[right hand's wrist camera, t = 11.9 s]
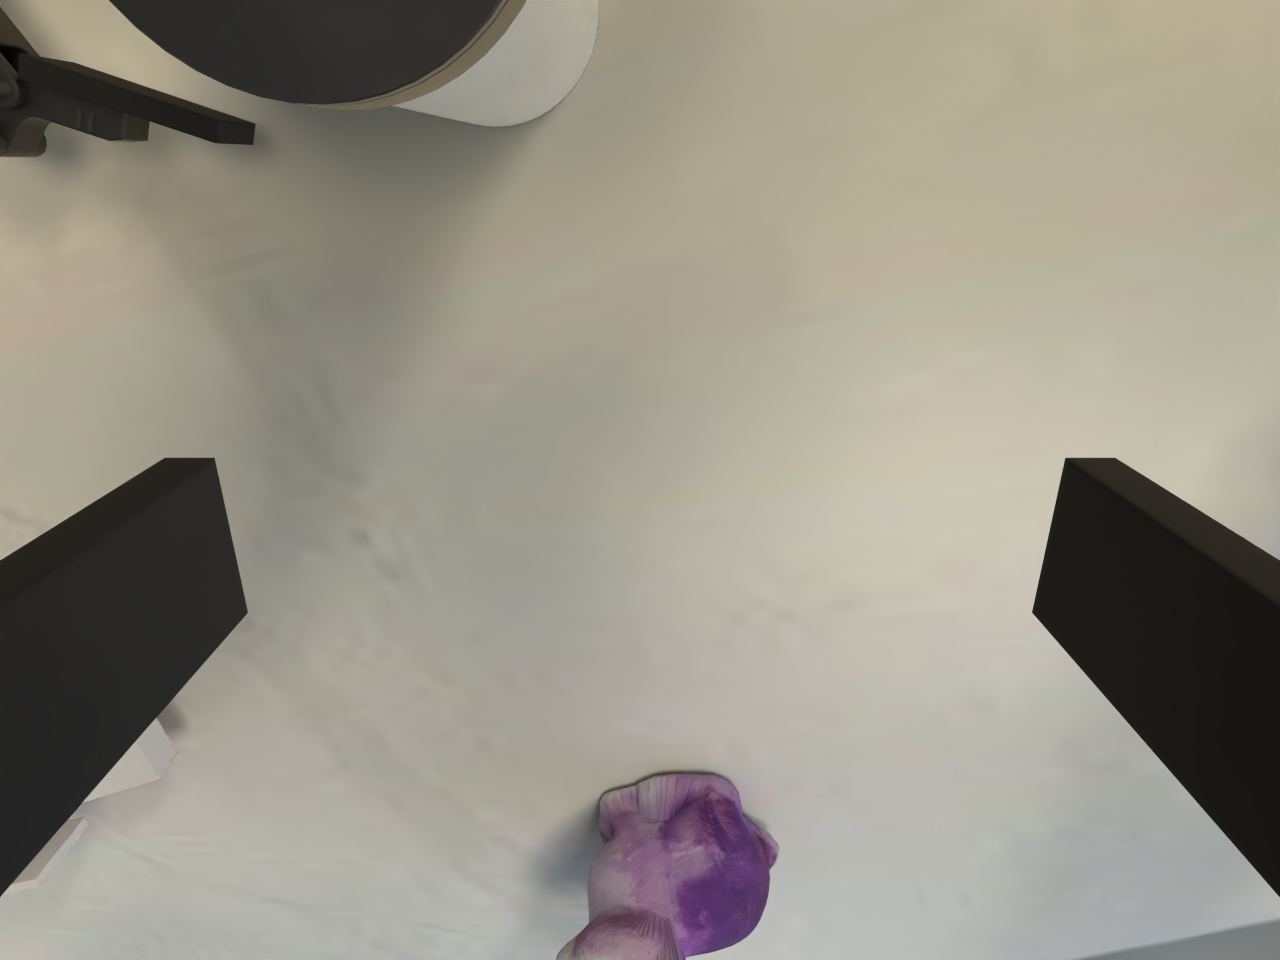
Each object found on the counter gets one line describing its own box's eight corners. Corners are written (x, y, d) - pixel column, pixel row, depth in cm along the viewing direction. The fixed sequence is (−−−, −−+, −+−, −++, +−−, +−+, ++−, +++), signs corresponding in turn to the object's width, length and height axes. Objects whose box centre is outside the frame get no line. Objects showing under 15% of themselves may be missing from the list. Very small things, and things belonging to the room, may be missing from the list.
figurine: (555, 820, 48) (517, 1090, 34) (684, 731, 45) (700, 984, 31) (656, 906, 50) (660, 1189, 37) (784, 827, 48) (840, 1100, 34)
